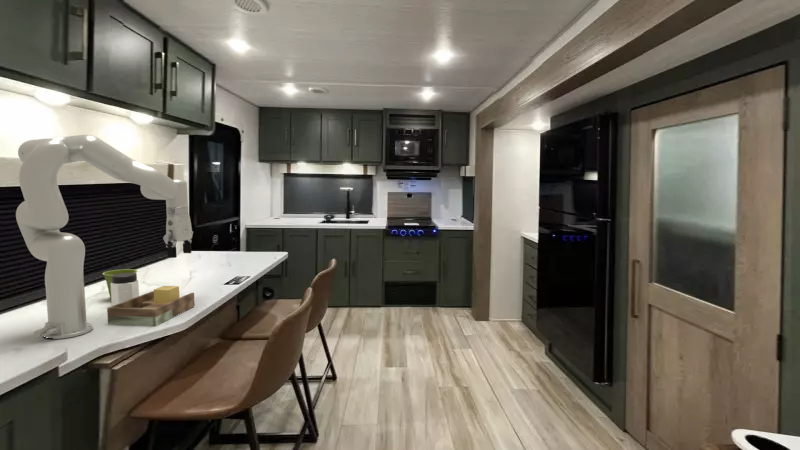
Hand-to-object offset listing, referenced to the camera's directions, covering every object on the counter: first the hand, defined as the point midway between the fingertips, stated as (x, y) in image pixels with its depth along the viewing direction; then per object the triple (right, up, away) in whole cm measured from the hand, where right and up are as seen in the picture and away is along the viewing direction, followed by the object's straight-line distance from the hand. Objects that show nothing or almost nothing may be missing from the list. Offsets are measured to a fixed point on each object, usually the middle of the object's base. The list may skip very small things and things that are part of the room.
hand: (180, 255), depth 169 cm
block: (-1, -17, -7) cm, 18 cm away
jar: (-19, -19, -3) cm, 28 cm away
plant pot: (-27, -18, +6) cm, 33 cm away
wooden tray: (-2, -20, -14) cm, 25 cm away
